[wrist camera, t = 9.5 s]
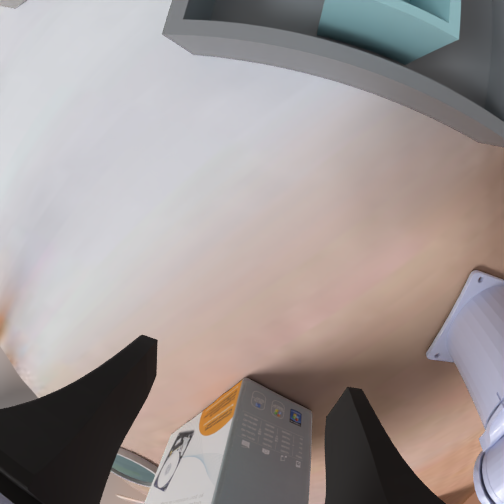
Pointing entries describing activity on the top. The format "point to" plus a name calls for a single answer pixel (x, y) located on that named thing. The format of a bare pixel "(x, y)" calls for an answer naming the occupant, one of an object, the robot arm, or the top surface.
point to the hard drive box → (238, 452)
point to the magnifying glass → (134, 468)
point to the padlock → (11, 3)
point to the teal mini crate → (392, 25)
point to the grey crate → (361, 56)
